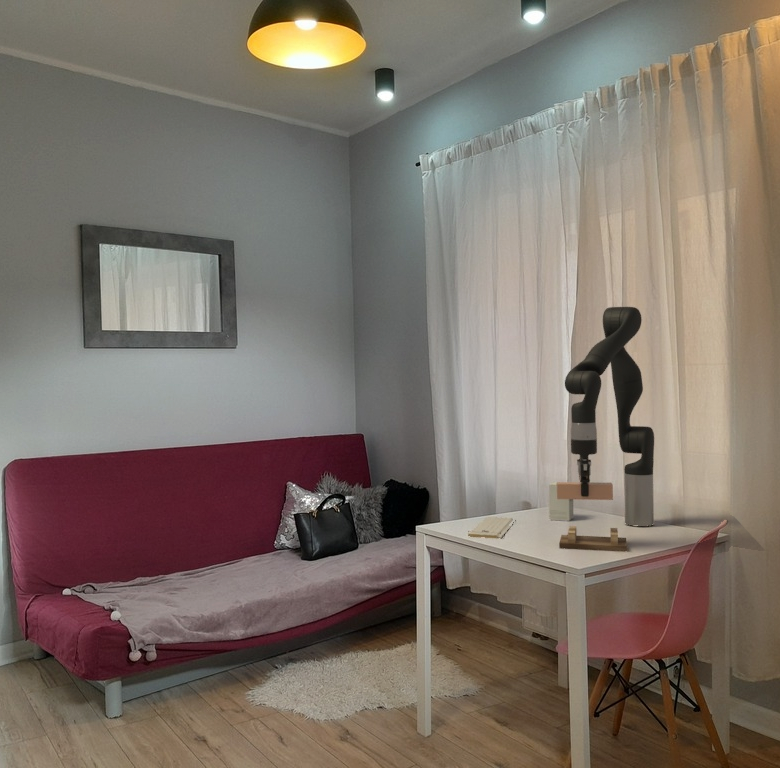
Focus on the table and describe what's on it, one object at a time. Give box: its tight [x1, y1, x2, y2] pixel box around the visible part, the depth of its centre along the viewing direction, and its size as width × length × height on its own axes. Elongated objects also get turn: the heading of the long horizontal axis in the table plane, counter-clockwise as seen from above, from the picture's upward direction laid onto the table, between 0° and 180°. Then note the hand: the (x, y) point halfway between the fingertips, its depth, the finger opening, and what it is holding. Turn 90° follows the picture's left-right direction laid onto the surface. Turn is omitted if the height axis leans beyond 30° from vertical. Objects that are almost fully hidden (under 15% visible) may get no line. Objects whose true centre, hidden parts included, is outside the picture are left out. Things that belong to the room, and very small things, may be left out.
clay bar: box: [557, 481, 614, 501], centre depth 224 cm, size 16×4×4 cm, turn 79°
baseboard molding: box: [467, 516, 514, 540], centre depth 250 cm, size 31×3×12 cm
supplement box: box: [548, 481, 574, 521], centre depth 265 cm, size 7×7×13 cm
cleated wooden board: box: [558, 525, 628, 552], centre depth 223 cm, size 12×19×4 cm, turn 74°
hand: (584, 494), depth 224 cm, fingers closed on clay bar, 4 cm apart
